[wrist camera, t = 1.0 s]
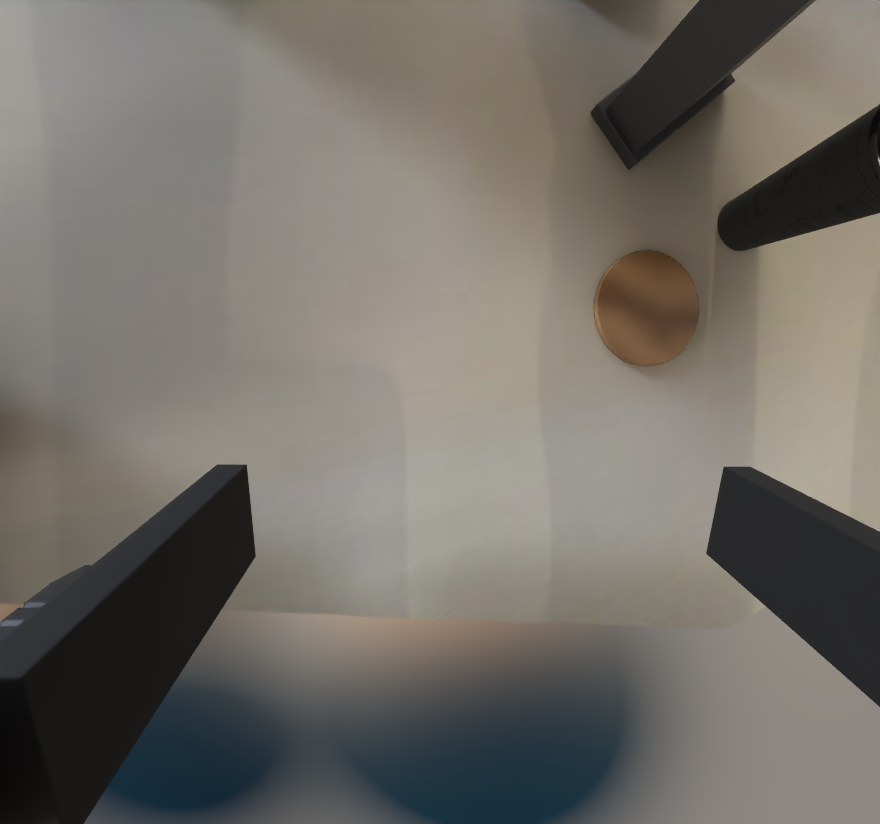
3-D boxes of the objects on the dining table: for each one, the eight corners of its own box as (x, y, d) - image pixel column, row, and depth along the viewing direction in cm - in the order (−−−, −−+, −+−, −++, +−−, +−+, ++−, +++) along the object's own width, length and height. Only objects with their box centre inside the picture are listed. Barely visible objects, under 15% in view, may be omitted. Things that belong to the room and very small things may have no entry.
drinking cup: (779, 197, 42) (1152, 21, 22) (763, 274, 42) (1123, 166, 22) (713, 174, 40) (1050, -37, 21) (697, 253, 40) (1020, 117, 21)
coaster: (594, 248, 38) (598, 246, 38) (695, 255, 40) (700, 253, 40) (593, 365, 39) (596, 364, 38) (693, 366, 41) (698, 366, 40)
